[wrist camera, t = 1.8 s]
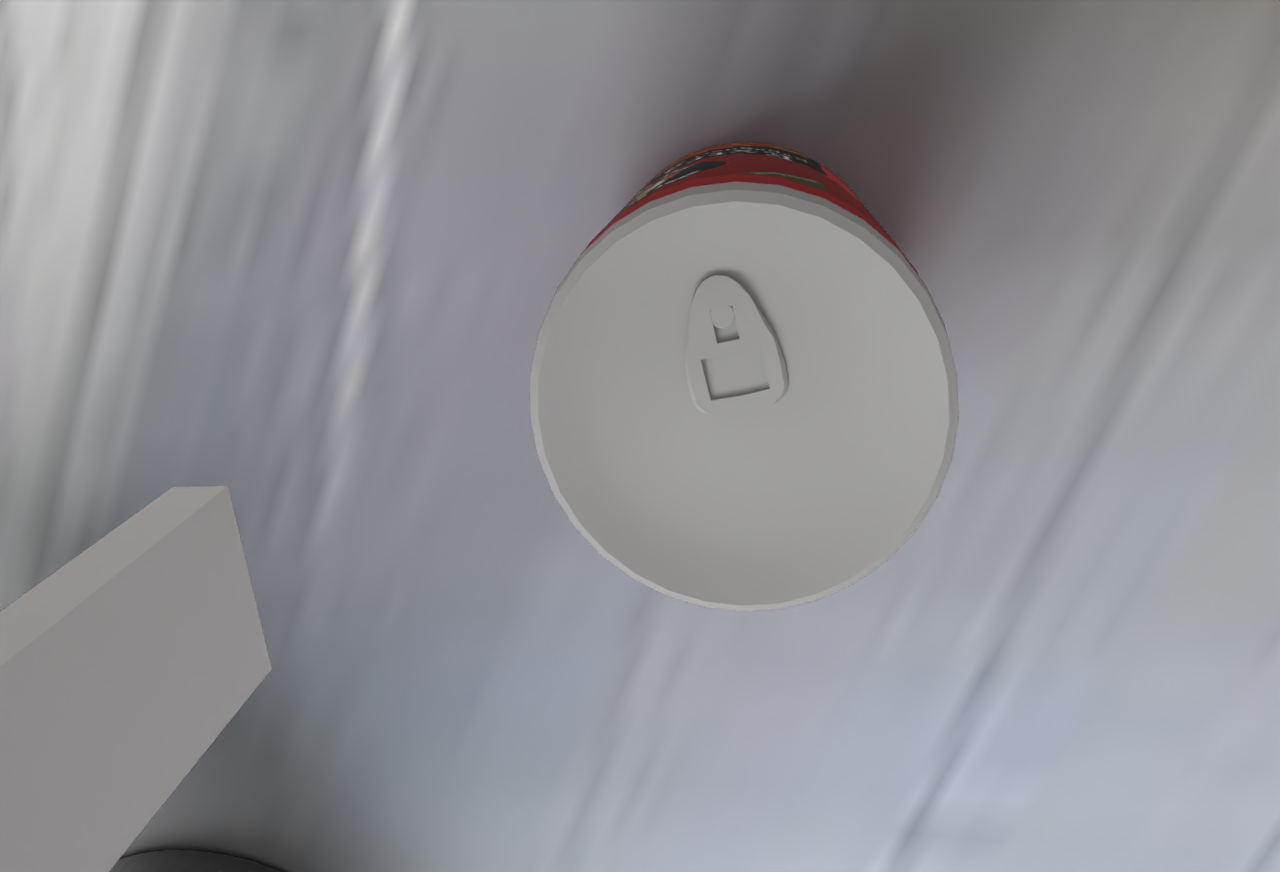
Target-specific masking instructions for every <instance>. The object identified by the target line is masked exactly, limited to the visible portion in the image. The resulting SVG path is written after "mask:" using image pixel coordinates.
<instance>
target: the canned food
mask: <svg viewBox="0 0 1280 872" xmlns="http://www.w3.org/2000/svg"><path fill="white" fill-rule="evenodd" d="M530 419H531V424H532V429H533V434H534V440H535V445H536V450H537V455H538V458H539V460H540V463H541V465H542V468H543V470H544V473H545V475H546V478H547V480H548V483H549V485H550V488H551V490H552V493H553V494H554V496H555V497H556V499H557V501H558V502H559V504H560V505H561V507H562V508H563V510H564V512H565V513H566V515H567V516H568V518H569V519H570V521H571V523H572V524H573V526H574V527H575V528H576V529H577V530H578V531H579V532H580V533H581V534H582V535H583V537H584V538H585V539H586V540H587V541H588V542H589V543H590V544H591V545H592V546H593V547H594V548H595V549H596V551H597V552H598V553H599V554H600V555H601V556H603V557H604V558H605V559H607V560H608V561H609V562H611V563H612V564H613V565H615V566H616V567H617V568H619V569H620V570H621V571H623V572H624V573H625V574H627V575H628V576H629V577H631V578H632V579H634V580H636V581H638V582H640V583H642V584H644V585H646V586H648V587H650V588H652V589H654V590H656V591H658V592H660V593H662V594H664V595H666V596H669V597H672V598H675V599H679V600H682V601H685V602H689V603H692V604H695V605H699V606H702V607H708V608H716V609H725V610H734V611H742V612H743V611H759V610H775V609H784V608H788V607H792V606H796V605H800V604H804V603H808V602H812V601H816V600H820V599H822V598H824V597H826V596H828V595H831V594H833V593H835V592H837V591H839V590H842V589H844V588H846V587H848V586H850V585H853V584H855V583H856V582H858V581H859V580H861V579H862V578H863V577H865V576H866V575H868V574H869V573H871V572H872V571H873V570H875V569H876V568H878V567H879V566H880V565H882V564H883V563H885V562H886V561H888V559H889V558H890V557H891V556H892V555H893V554H894V553H895V552H896V551H897V550H898V549H899V548H900V547H901V546H902V545H903V544H904V543H905V542H906V541H907V540H908V539H909V538H910V537H911V536H912V535H913V533H914V532H915V531H916V530H917V528H918V526H919V525H920V523H921V522H922V520H923V519H924V517H925V516H926V514H927V512H928V511H929V509H930V508H931V506H932V505H933V503H934V501H935V500H936V498H937V496H938V494H939V491H940V488H941V486H942V483H943V481H944V478H945V476H946V473H947V470H948V468H949V465H950V463H951V460H952V455H953V449H954V443H955V437H956V431H957V426H958V420H959V411H958V384H957V373H956V369H955V365H954V361H953V357H952V353H951V349H950V345H949V341H948V337H947V333H946V329H945V325H944V322H943V320H942V318H941V316H940V314H939V312H938V310H937V308H936V306H935V304H934V301H933V299H932V297H931V295H930V293H929V291H928V289H927V287H926V285H925V283H924V282H923V281H922V279H921V278H920V277H919V275H918V273H917V271H916V270H915V269H914V267H913V266H912V265H911V263H910V262H909V261H908V259H907V258H906V257H905V256H904V254H903V253H902V252H901V250H900V249H899V248H898V247H897V245H896V244H895V243H894V241H893V240H892V239H891V237H890V236H889V235H888V234H887V233H886V231H885V230H884V229H883V228H882V227H881V226H880V224H879V223H878V222H877V221H876V220H875V218H874V217H873V216H872V215H871V214H870V212H869V211H868V210H867V209H866V208H865V207H864V205H863V204H862V203H861V202H860V201H859V199H858V198H857V197H856V196H855V195H854V193H853V192H852V191H851V190H850V189H849V187H848V186H847V185H846V184H844V183H843V182H842V181H841V180H840V179H839V178H837V177H836V176H835V175H834V174H833V173H832V172H830V171H829V170H828V169H827V168H826V167H824V166H823V165H821V164H819V163H817V162H815V161H814V160H812V159H810V158H808V157H806V156H804V155H803V154H801V153H799V152H795V151H792V150H789V149H785V148H782V147H779V146H775V145H772V144H762V143H749V142H738V143H730V144H723V145H715V146H711V147H708V148H706V149H703V150H700V151H697V152H694V153H692V154H689V155H686V156H684V157H683V158H681V159H680V160H678V161H676V162H675V163H673V164H671V165H670V166H668V167H667V168H665V169H663V170H662V171H661V172H660V173H658V174H657V175H656V176H655V177H654V178H653V179H652V180H651V181H650V182H649V183H648V184H647V185H646V186H645V187H644V188H643V189H642V190H641V191H640V192H639V193H638V194H637V195H636V196H635V197H634V198H633V199H632V200H631V201H630V202H629V203H628V204H627V205H626V206H625V207H624V208H623V209H622V210H621V211H620V212H619V213H618V214H617V215H616V216H615V217H614V218H613V219H612V220H611V221H610V223H609V224H608V225H607V226H606V227H605V228H604V229H603V230H602V231H601V232H600V233H599V234H598V235H597V236H596V237H595V238H594V239H593V240H592V241H591V242H590V243H589V245H588V246H587V248H586V249H585V250H584V251H583V253H582V254H581V255H580V256H579V258H578V259H577V261H576V262H575V264H574V265H573V267H572V268H571V269H570V271H569V272H568V274H567V275H566V277H565V278H564V280H563V281H562V282H561V284H560V285H559V287H558V288H557V290H556V293H555V295H554V298H553V300H552V302H551V305H550V307H549V309H548V312H547V314H546V316H545V319H544V321H543V323H542V326H541V330H540V332H539V335H538V339H537V344H536V349H535V354H534V359H533V364H532V369H531V374H530Z"/></svg>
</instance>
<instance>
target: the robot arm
mask: <svg viewBox="0 0 1280 872" xmlns="http://www.w3.org/2000/svg"><path fill="white" fill-rule="evenodd" d="M271 669H272V667H271V663H270V658H269V654H268V650H267V646H266V642H265V638H264V633H263V629H262V625H261V621H260V617H259V613H258V608H257V604H256V600H255V596H254V592H253V588H252V583H251V579H250V575H249V571H248V567H247V563H246V559H245V554H244V550H243V546H242V542H241V538H240V534H239V529H238V525H237V521H236V517H235V513H234V509H233V504H232V500H231V496H230V492H229V488H228V486H194V487H172V488H170V489H169V490H168V491H166V492H165V493H164V494H162V495H161V496H159V497H158V498H157V499H155V500H154V501H152V502H151V503H150V504H148V505H147V506H146V507H144V508H143V509H141V510H140V511H139V512H137V513H136V514H134V515H133V516H132V517H130V518H129V519H128V520H126V521H125V522H123V523H122V524H121V525H119V526H118V527H116V528H115V529H114V530H112V531H111V532H110V533H108V534H107V535H105V536H104V537H103V538H101V539H100V540H98V541H97V542H96V543H94V544H93V545H92V546H90V547H89V548H87V549H86V550H85V551H83V552H82V553H80V554H79V555H78V556H76V557H75V558H74V559H72V560H71V561H69V562H68V563H67V564H65V565H64V566H62V567H61V568H60V569H58V570H57V571H56V572H54V573H53V574H51V575H50V576H49V577H47V578H46V579H44V580H43V581H42V582H40V583H39V584H38V585H36V586H35V587H33V588H32V589H31V590H29V591H28V592H26V593H25V594H24V595H22V596H21V597H19V598H18V599H17V600H15V601H14V602H13V603H11V604H10V605H8V606H7V607H6V608H4V609H3V610H1V611H0V872H280V871H277V870H275V869H272V868H270V867H267V866H264V865H262V864H259V863H256V862H253V861H249V860H246V859H242V858H238V857H234V856H230V855H225V854H220V853H214V852H206V851H197V850H163V851H153V852H146V853H141V854H137V855H132V856H129V857H125V858H122V859H120V857H121V856H122V855H123V854H124V852H125V851H126V850H127V849H128V847H129V846H130V845H131V844H132V842H133V841H134V840H135V839H136V837H137V836H138V835H139V834H140V832H141V831H142V830H143V829H144V827H145V826H146V825H147V824H148V822H149V821H150V820H151V819H152V817H153V816H154V815H155V814H156V812H157V811H158V810H159V809H160V808H161V806H162V805H163V804H164V803H165V801H166V800H167V799H168V798H169V796H170V795H171V794H172V793H173V791H174V790H175V789H176V788H177V786H178V785H179V784H180V783H181V781H182V780H183V779H184V778H185V776H186V775H187V774H188V773H189V771H190V770H191V769H192V768H193V766H194V765H195V764H196V763H197V761H198V760H199V759H200V758H201V756H202V755H203V754H204V753H205V751H206V750H207V749H208V748H209V746H210V745H211V744H212V743H213V742H214V740H215V739H216V738H217V737H218V735H219V734H220V733H221V732H222V730H223V729H224V728H225V727H226V725H227V724H228V723H229V722H230V720H231V719H232V718H233V717H234V715H235V714H236V713H237V712H238V710H239V709H240V708H241V707H242V705H243V704H244V703H245V702H246V700H247V699H248V698H249V697H250V695H251V694H252V693H253V692H254V690H255V689H256V688H257V687H258V685H259V684H260V683H261V682H262V680H263V679H264V678H265V677H266V675H267V674H268V673H269V672H270V671H271Z"/></svg>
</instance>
